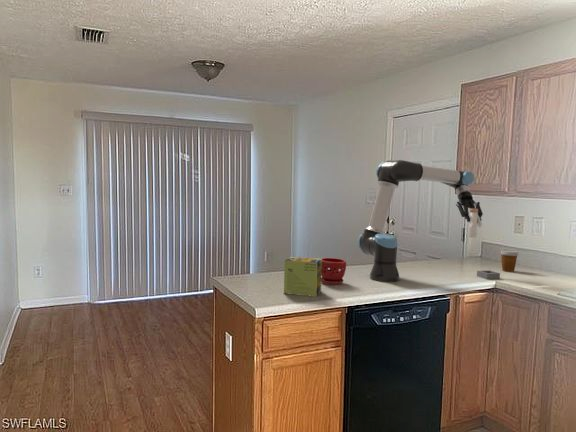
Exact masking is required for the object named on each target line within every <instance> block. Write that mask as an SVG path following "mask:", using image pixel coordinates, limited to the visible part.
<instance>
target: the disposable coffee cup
mask: <svg viewBox="0 0 576 432" xmlns="http://www.w3.org/2000/svg"><path fill="white" fill-rule="evenodd" d="M518 255H519V252H518V251H517V250H513V249H502V250H500V256H501V259H500V260H501V270H502V271H503V272H506V273H507V272H508V273H514V272H515V269H516V263H517V258H518Z"/></svg>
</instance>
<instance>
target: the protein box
mask: <svg viewBox="0 0 576 432" xmlns="http://www.w3.org/2000/svg"><path fill="white" fill-rule="evenodd" d="M283 270H284V274H283V275H284V276H283V277H284V278H283V280H284V281H283V294H284V293H290V294H289V295H292V294H300V295H299V296H303V295H310V296H309V297H313V296H318V295H320V293H321V292H322V282H321V278H322V276H321V270H322V258H313V257H301V256H300V257H299V256H297V257H296V256H290V257H289V258H287V259H284V269H283Z"/></svg>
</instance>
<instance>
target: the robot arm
mask: <svg viewBox="0 0 576 432" xmlns="http://www.w3.org/2000/svg"><path fill="white" fill-rule="evenodd" d="M375 173H376V177H377V180H376V181H377V184H378V189H377V193H376V195H375V196H376V197H375V201H374V204H373V208H372V211H371V215H370V220H369V222H368V226H367V227H365V228H364V230H363V233H361V234H360V235H359V236H358V239H357V247H358V249H359V251H361V252H362V253H363V254H365V255H368V256H373V265H372V267H371V271H370V274H369V279H371V280H373V281H378V282H397V281H399V280H400V274H399V270H398V267H397V259H398V258H397V255H398V239H397V237H396V236H395V235H392V234H388V233H385V230H384V229H385V225H386V222H387V218H388V214H389V210H390V206H391V203H392V200H393V197H394V191H395V189H397V188H399V184H400V182H419V181H429V182H439V183H440V184H443V185H447V186H449V187H452V188H453V189H454V191H455V192H456V195H457V199H458V201H456V203H455V206H456V207H457V209H458V211H459V213H460V215H461V217H462V218H464V219H465V220H466V221H467V222H468V223H469V224H470V226H471V227H473V225H474V223H473V220H472V218H471V215H470V211H469V209H470V208H475V209H478V218H477V227H478V228H481V227H482V226H483V223H482V216H483V215H484V214H483V211H482V207H481V203H480V201H475V199H474V198H473V195H472V192H471V190H470V187H469V186H470V185H471V184H472V183H474V181H475V176H474V173H473V172H472V171H469V170H455V169H448V168H442V167H433V166H426V165H423V164H422V163H418V162H412V161H408V160H402V159H399V160H386V161H382V162H381V163H380V164H378V166H377V168H376V171H375ZM468 185H469V186H468ZM469 224H468V225H469Z"/></svg>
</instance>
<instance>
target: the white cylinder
mask: <svg viewBox="0 0 576 432" xmlns="http://www.w3.org/2000/svg"><path fill="white" fill-rule="evenodd" d="M475 208H476V207H475ZM475 208H469V215H471V218H472V220H473V223H474V225H473V227H471V226H470V224H468V225H469V226H468V227H469V228H468V238H477V234H478V233H477V231H478V224H477V218H478V209H475Z"/></svg>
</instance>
